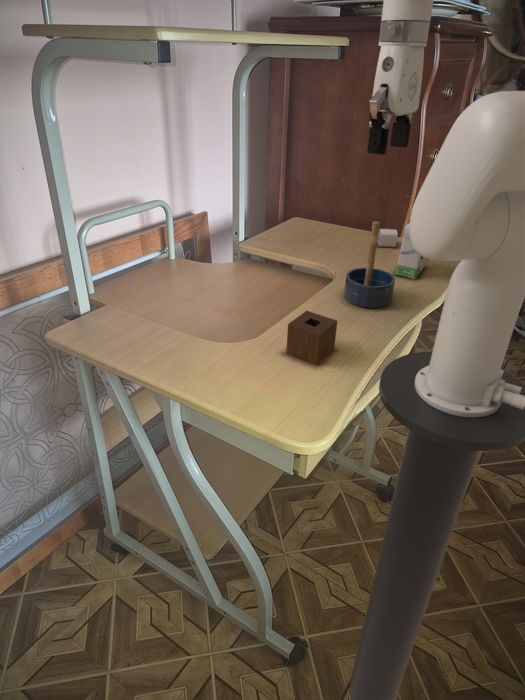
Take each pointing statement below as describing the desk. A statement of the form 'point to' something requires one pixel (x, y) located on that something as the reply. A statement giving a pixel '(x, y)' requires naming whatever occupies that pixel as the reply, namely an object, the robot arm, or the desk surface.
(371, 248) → the stick
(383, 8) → the robot arm
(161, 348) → the desk surface
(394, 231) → the usb wall charger
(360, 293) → the bowl
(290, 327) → the holder
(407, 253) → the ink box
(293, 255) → the desk surface
